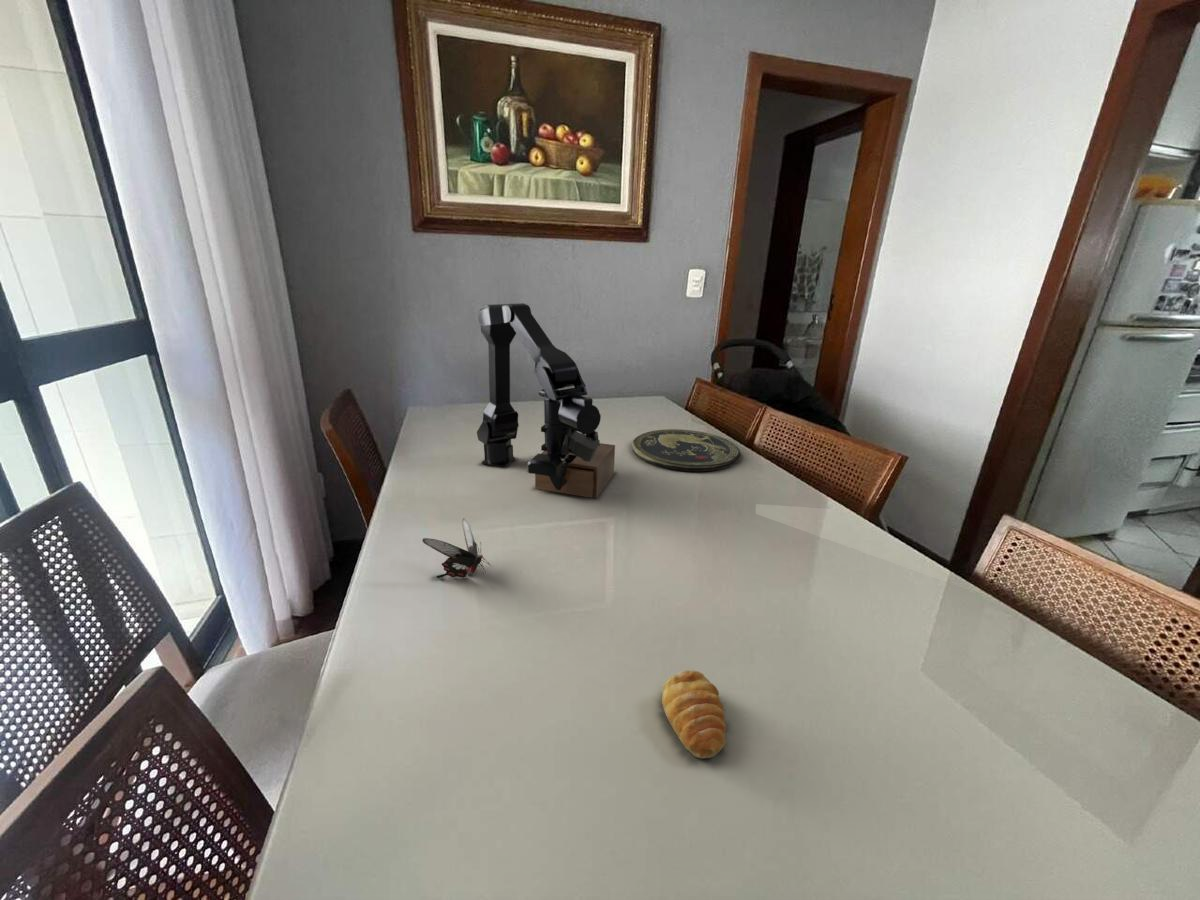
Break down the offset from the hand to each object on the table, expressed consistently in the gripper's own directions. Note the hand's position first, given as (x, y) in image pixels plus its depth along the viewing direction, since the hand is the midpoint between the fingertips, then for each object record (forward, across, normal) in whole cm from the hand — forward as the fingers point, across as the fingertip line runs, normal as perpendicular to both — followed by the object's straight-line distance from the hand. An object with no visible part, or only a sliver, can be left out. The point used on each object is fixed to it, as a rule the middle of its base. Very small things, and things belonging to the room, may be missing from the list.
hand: (558, 489), depth 105 cm
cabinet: (+3, +11, 0) cm, 12 cm away
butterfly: (+3, -32, +5) cm, 32 cm away
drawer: (+2, +9, 0) cm, 9 cm away
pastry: (+3, -46, -35) cm, 58 cm away
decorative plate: (+3, +40, -22) cm, 46 cm away
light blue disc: (+1, +9, 0) cm, 9 cm away
